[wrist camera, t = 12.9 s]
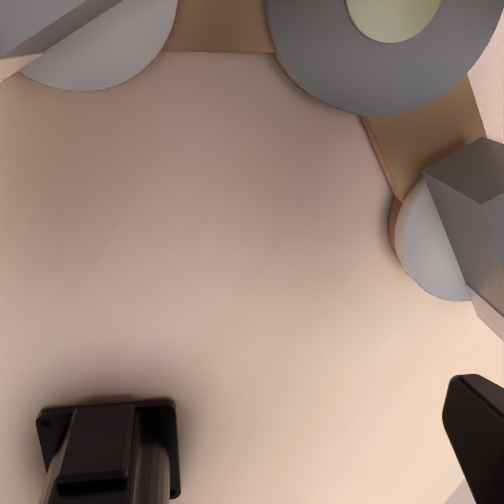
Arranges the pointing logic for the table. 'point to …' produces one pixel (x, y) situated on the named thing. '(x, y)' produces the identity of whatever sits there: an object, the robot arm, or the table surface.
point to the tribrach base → (365, 66)
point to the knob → (82, 40)
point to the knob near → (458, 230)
